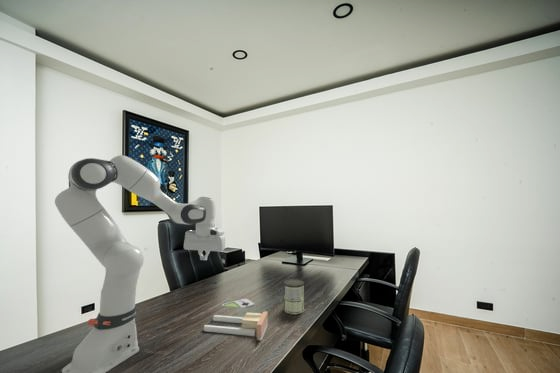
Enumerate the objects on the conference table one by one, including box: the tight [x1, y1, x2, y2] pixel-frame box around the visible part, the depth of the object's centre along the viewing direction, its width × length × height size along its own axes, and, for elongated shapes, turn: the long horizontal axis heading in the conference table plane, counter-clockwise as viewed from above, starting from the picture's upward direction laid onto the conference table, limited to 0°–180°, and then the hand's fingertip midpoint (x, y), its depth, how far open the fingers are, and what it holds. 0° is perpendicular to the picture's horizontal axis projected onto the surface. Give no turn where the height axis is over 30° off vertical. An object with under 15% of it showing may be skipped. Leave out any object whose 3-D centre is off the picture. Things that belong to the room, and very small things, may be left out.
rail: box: [201, 310, 269, 341], centre depth 103 cm, size 12×26×6 cm, turn 81°
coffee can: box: [283, 278, 305, 315], centre depth 123 cm, size 10×10×14 cm
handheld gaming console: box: [221, 298, 255, 309], centre depth 127 cm, size 10×2×15 cm
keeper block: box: [241, 312, 262, 335], centre depth 101 cm, size 7×7×5 cm
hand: (203, 259), depth 113 cm, fingers closed
